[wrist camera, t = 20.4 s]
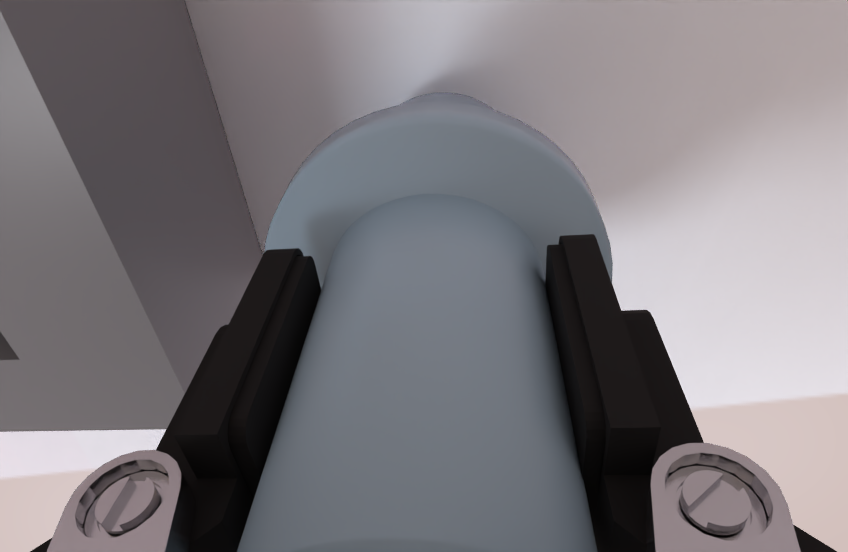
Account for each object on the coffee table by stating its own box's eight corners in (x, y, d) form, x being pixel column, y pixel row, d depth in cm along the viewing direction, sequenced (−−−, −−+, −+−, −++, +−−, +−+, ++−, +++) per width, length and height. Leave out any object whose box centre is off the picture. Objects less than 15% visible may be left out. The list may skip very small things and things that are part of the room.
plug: (342, 276, 17) (128, 1030, 6) (293, 51, 13) (-473, 957, 2) (564, 267, 16) (763, 1084, 6) (578, 27, 13) (1287, 1107, 2)
